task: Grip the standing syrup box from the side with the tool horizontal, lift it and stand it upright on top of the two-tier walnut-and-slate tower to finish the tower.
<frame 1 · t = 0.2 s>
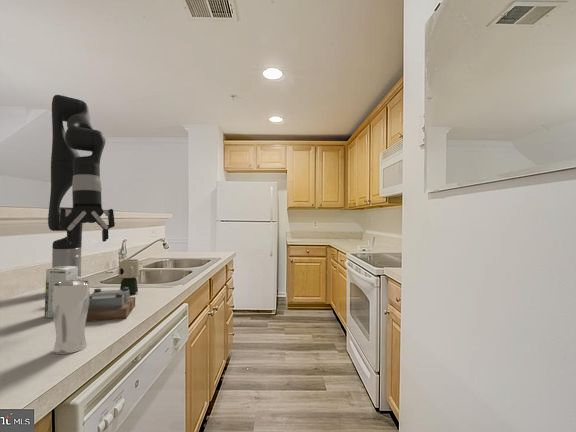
hand: (88, 242, 92), 22 cm above the worktop, tool pointing down, fingers open, 8 cm apart
syrup box: (61, 315, 90), on the worktop
character mug: (128, 294, 115), on the worktop
supplement bottle: (73, 302, 104), on the worktop
tower base: (107, 313, 92), on the worktop
beer glass: (70, 349, 68), on the worktop
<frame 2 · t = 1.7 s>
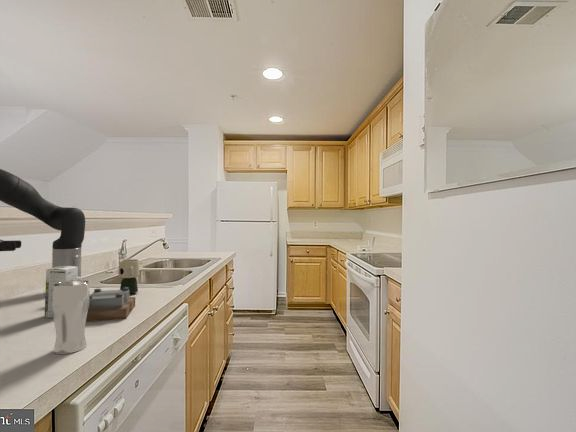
hand: (18, 245, 84), 22 cm above the worktop, tool horizontal, fingers open, 8 cm apart
nothing on the worktop moved.
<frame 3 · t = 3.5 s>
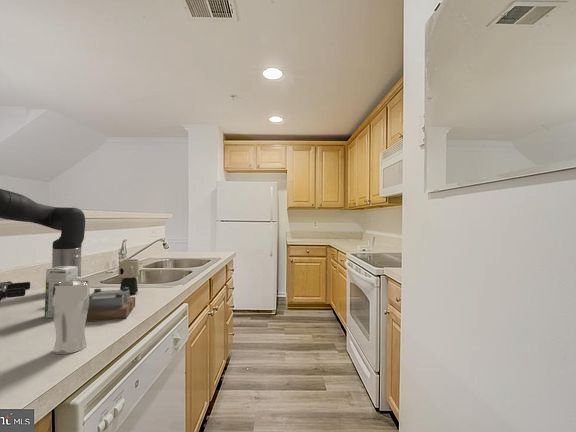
hand: (27, 288, 86), 9 cm above the worktop, tool horizontal, fingers open, 8 cm apart
nothing on the worktop moved.
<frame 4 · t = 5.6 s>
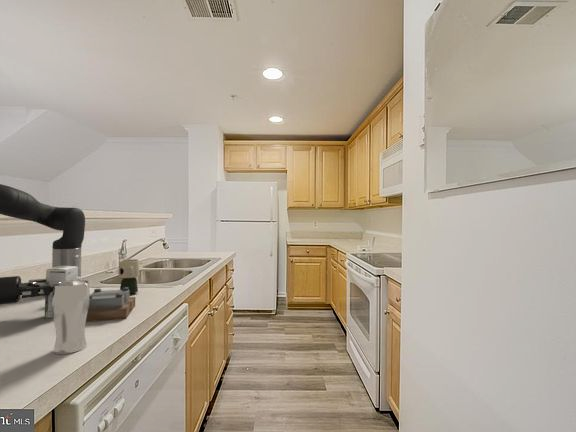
hand: (70, 284, 91), 9 cm above the worktop, tool horizontal, fingers closed on syrup box, 7 cm apart
syrup box: (61, 315, 90), on the worktop, touching gripper
everything else where it was.
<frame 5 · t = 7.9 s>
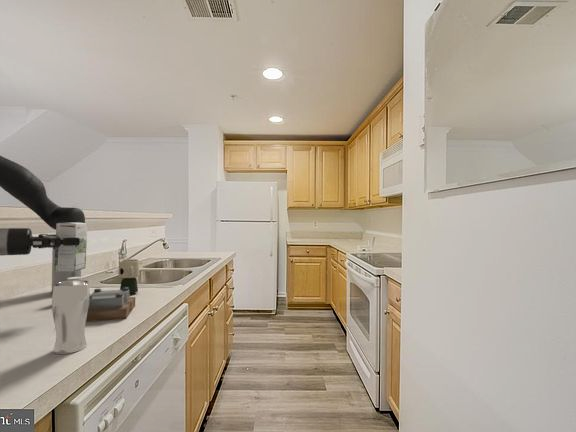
hand: (79, 240, 92), 23 cm above the worktop, tool horizontal, fingers closed on syrup box, 7 cm apart
syrup box: (70, 270, 90), point 13 cm above the worktop, touching gripper
everything else where it was.
when the fingers open (16 cm above the worktop, at t = 10.4 s): syrup box drops 1 cm, resting on tower base.
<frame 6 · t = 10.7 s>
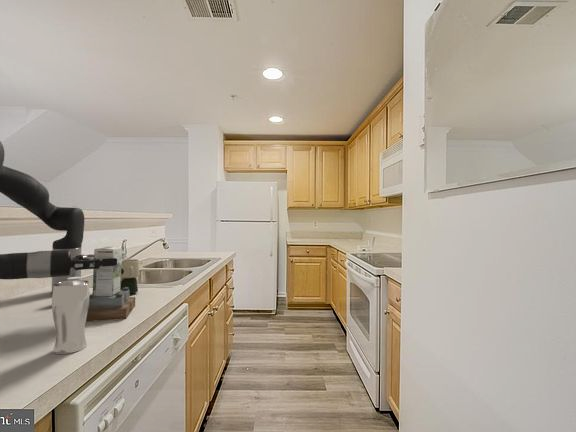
hand: (115, 260, 93), 17 cm above the worktop, tool horizontal, fingers open, 8 cm apart
syrup box: (107, 294, 92), point 6 cm above the worktop, touching tower base
everything else where it was.
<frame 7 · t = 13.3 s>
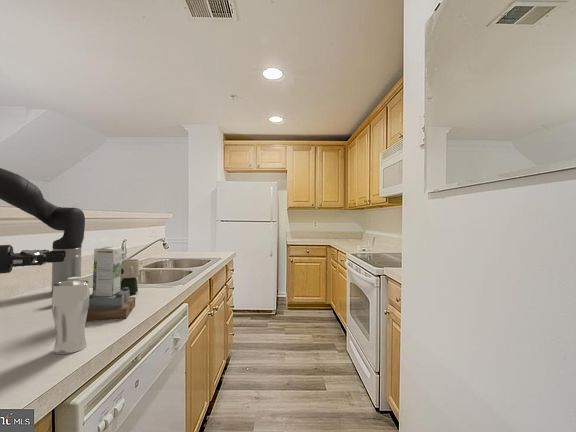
hand: (64, 255, 86), 19 cm above the worktop, tool horizontal, fingers open, 8 cm apart
nothing on the worktop moved.
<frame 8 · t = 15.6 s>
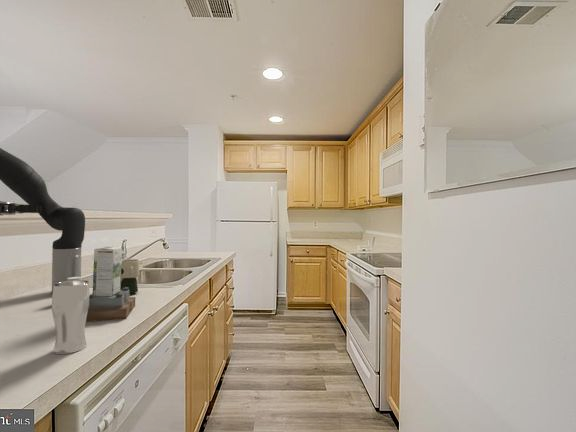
hand: (39, 209, 85), 32 cm above the worktop, tool horizontal, fingers open, 8 cm apart
nothing on the worktop moved.
at the end: syrup box point 5.8 cm above the worktop; syrup box 0.2 cm from the tower base (horizontally); syrup box tilted 0° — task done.
